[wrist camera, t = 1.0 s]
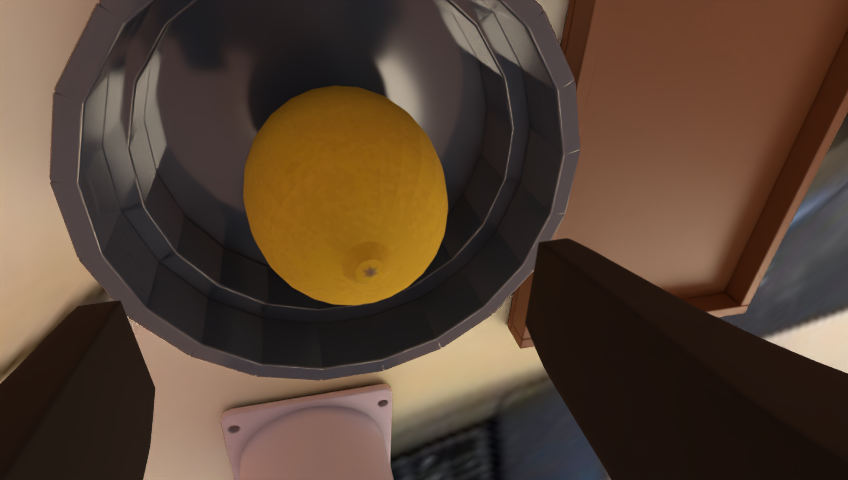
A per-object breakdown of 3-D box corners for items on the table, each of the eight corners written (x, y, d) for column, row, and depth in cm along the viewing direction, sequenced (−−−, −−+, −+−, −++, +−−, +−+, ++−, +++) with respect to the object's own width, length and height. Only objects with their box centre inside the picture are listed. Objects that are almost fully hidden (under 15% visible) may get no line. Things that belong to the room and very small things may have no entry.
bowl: (488, 270, 24) (534, 347, 20) (157, 308, 20) (133, 411, 16) (542, -87, 16) (636, -80, 12) (34, -120, 13) (-66, -126, 9)
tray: (723, 295, 29) (745, 313, 28) (507, 326, 26) (519, 349, 25) (918, -118, 19) (966, -118, 18) (597, -151, 16) (628, -154, 14)
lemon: (429, 81, 18) (526, 188, 11) (381, 218, 20) (439, 370, 14) (263, 32, 16) (267, 129, 9) (232, 192, 18) (219, 357, 12)
